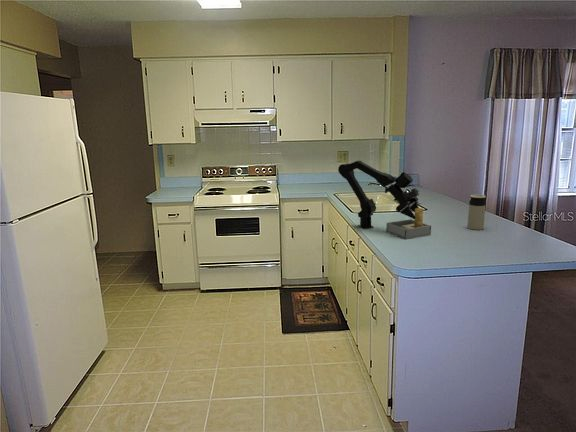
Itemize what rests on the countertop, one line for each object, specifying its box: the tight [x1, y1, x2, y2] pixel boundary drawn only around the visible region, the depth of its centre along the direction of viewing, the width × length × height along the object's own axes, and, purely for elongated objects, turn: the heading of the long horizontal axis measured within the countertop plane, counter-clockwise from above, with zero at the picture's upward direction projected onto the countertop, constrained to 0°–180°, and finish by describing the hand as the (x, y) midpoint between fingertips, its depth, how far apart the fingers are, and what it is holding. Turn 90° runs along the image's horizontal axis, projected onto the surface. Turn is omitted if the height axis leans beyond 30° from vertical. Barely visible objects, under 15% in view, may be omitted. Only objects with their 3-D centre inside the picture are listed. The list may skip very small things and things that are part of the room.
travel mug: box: [467, 194, 487, 231], centre depth 219 cm, size 8×8×18 cm
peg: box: [414, 207, 424, 228], centre depth 212 cm, size 4×4×12 cm
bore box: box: [385, 218, 432, 240], centre depth 215 cm, size 16×16×5 cm
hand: (417, 216), depth 212 cm, fingers open, 9 cm apart
